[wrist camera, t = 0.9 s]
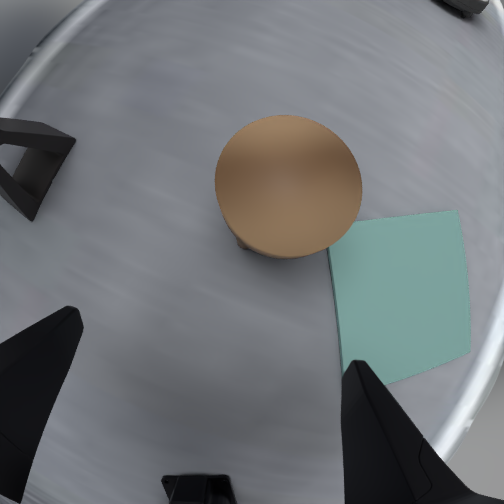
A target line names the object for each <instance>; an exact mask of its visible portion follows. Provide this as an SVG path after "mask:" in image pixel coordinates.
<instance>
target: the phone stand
mask: <svg viewBox="0 0 504 504" xmlns="http://www.w3.org/2000/svg"><path fill="white" fill-rule="evenodd" d="M75 141H76V139H75V138H73V137H71V136H69V135H67V134H65V133H63V132H61V131H59V130H57V129H55V128H53V127H51V126H48V125H46V124H44V123H41V122H34V121H26V120H18V119H10V118H0V145H2V144H11V145H17V146H23V147H28V149H27V150H26V152H25V154H24V156H23V158H22V159H21V161H20V163H19V165H18V167H17V169H16V171H15V173H14V175H13V177H11V176H10V175H9V174H8V173H7V172H6V170H5V169H4V168H3V167H2V166H1V165H0V195H1V196H2V197H3V198H4V199H5V200H6V201H7V202H8V203H9V204H11V205H12V206H13V207H14V208H15V209H16V210H18V211H19V212H20V213H21V214H22V215H23V216H25V217H26V218H27V219H28V220H30V221H33V220H34V218H35V216H36V214H37V212H38V209H39V207H40V205H41V203H42V201H43V199H44V197H45V195H46V193H47V191H48V189H49V187H50V185H51V183H52V179H54V178H55V176H56V174H57V172H58V171H59V169H60V167H61V165H62V163H63V162H64V160H65V158H66V157H67V155H68V153H69V152H70V150H71V148H72V147H73V145H74V144H75Z"/></svg>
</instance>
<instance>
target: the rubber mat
mask: <svg viewBox="0 0 504 504" xmlns="http://www.w3.org/2000/svg"><path fill="white" fill-rule="evenodd" d="M327 251H328V258H329V264H330V271H331V278H332V286H333V293H334V301H335V309H336V318H337V327H338V337H339V347H340V358H341V370H342V377H343V374H344V373H345V371H346V369H347V368H348V366H349V364H350V362H351V361H352V360H364V361H366V362H367V363H368V365H369V366H370V367H371V369H372V370H373V371H374V372H375V374H376V375H377V376H378V378H379V379H380V380H381V381H382V383H383V384H384V385H387V384H390V383H393V382H396V381H399V380H402V379H405V378H408V377H410V376H413V375H416V374H419V373H421V372H424V371H427V370H429V369H432V368H434V367H437V366H439V365H442V364H444V363H447V362H449V361H451V360H454V359H456V358H458V357H460V356H463V355H465V354H467V353H469V352H470V344H471V325H470V299H469V285H468V274H467V265H466V257H465V250H464V243H463V237H462V231H461V225H460V220H459V215H458V210H452V211H443V212H434V213H425V214H416V215H407V216H399V217H390V218H382V219H374V220H365V221H357V222H353V224H352V226H351V227H350V229H349V230H348V231H347V232H346V234H345V235H344V236H343V237H341V238H340V239H339V240H338V241H337V242H335V243H334V244H333V245H331V246H329V247H327Z"/></svg>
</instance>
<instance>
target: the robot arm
mask: <svg viewBox="0 0 504 504" xmlns="http://www.w3.org/2000/svg"><path fill="white" fill-rule="evenodd" d="M83 328H84V327H83V322H82V319H81V315H80V312H79V310H78V309H77V308H75V307H72V306H65V307H63V308H62V309H60V310H58V311H56V312H54V313H53V314H51V315H49V316H47V317H46V318H44V319H42V320H40V321H39V322H37V323H35V324H33V325H32V326H30V327H28V328H26V329H25V330H23V331H21V332H19V333H18V334H16V335H14V336H13V337H11V338H9V339H7V340H6V341H4V342H2V343H1V344H0V494H1V495H3V496H5V497H7V498H9V499H11V500H13V501H15V502H17V503H19V504H21V501H22V498H23V494H24V490H25V486H26V483H27V479H28V476H29V473H30V469H31V466H32V463H33V460H34V457H35V454H36V451H37V448H38V445H39V442H40V439H41V436H42V434H43V431H44V428H45V426H46V423H47V420H48V418H49V415H50V413H51V410H52V408H53V406H54V403H55V401H56V398H57V396H58V394H59V391H60V389H61V387H62V385H63V382H64V380H65V378H66V376H67V373H68V371H69V369H70V366H71V364H72V361H73V358H74V355H75V352H76V349H77V347H78V344H79V341H80V338H81V336H82V333H83ZM341 433H342V448H343V466H344V494H345V504H504V500H501V499H496V498H492V497H488V496H484V495H480V494H477V493H475V492H473V491H472V490H470V489H469V488H468V487H467V486H465V484H464V483H463V482H462V481H461V480H460V479H459V478H458V477H457V476H456V475H455V474H454V473H453V471H452V470H451V469H450V468H449V467H448V466H447V465H446V464H445V463H444V462H443V460H442V459H441V458H440V457H439V456H438V455H437V453H436V452H435V451H434V449H433V448H432V447H431V446H430V444H429V443H428V442H427V440H426V439H425V438H423V435H422V434H421V432H420V431H419V430H418V428H417V427H416V426H415V424H414V423H413V422H412V421H411V419H410V418H409V417H408V415H407V414H406V413H405V411H404V410H403V409H402V407H401V406H400V405H399V403H398V402H397V401H396V400H395V398H394V397H393V396H392V394H391V393H390V392H389V390H388V389H387V388H386V387H385V385H384V384H383V383H382V381H381V380H380V379H379V378H378V376H377V375H376V374H375V372H374V371H373V370H372V369H371V367H370V366H369V365H368V363H367V362H366V361H364V360H352V361H351V362H350V364H349V366H348V368H347V369H346V371H345V373H344V374H343V377H342V398H341ZM223 479H224V480H226V481H223ZM166 480H168V481H166ZM161 482H162V484H163V487H164V489H165V491H166V494H167V496H168V498H169V504H237V502H236V499H235V495H234V492H233V488H232V485H231V481H230V478H229V477H228V476H226V475H218V476H163V477H162V480H161Z"/></svg>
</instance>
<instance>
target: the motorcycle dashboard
mask: <svg viewBox="0 0 504 504" xmlns="http://www.w3.org/2000/svg"><path fill="white" fill-rule="evenodd" d="M443 1H444V2H446V3H448V4H449V5H451V6H453V7H455V8H457V9H459V10H461V11H462V16H461V17H462V18H464V17H470V16H471V15H472V14H473V13H475V14H480V13H481V12H482V11H483V10H484V8H485V7H486V6H487V5H488V4H489V0H443Z"/></svg>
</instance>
